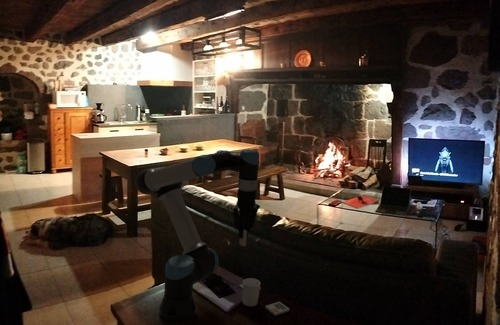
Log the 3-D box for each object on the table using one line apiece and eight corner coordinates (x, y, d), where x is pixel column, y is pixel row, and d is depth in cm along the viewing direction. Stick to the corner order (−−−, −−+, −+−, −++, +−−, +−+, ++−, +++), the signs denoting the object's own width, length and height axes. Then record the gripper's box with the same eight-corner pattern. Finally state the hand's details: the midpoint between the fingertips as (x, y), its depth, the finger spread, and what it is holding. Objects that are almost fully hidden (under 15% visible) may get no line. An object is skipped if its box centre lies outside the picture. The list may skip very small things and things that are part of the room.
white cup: (256, 308, 177) (258, 288, 175) (239, 305, 179) (240, 284, 177) (260, 300, 184) (262, 280, 183) (243, 296, 186) (245, 276, 184)
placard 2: (265, 307, 178) (265, 305, 178) (279, 303, 183) (279, 301, 183) (275, 315, 173) (275, 313, 172) (289, 311, 177) (289, 308, 177)
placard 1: (239, 286, 195) (239, 284, 195) (252, 283, 200) (252, 281, 199) (247, 293, 189) (247, 291, 189) (260, 289, 194) (261, 287, 194)
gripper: (238, 192, 152) (234, 251, 157) (265, 190, 160) (260, 245, 164) (228, 187, 158) (224, 244, 162) (254, 185, 166) (250, 239, 170)
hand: (242, 244), depth 163 cm, fingers closed
